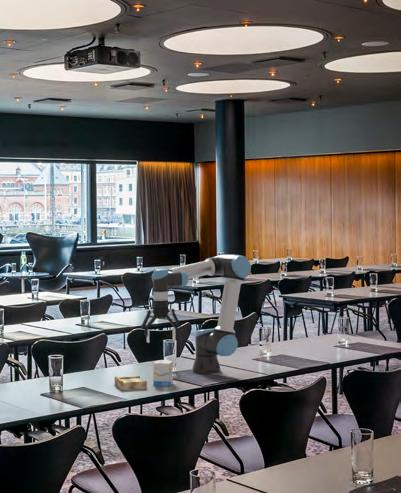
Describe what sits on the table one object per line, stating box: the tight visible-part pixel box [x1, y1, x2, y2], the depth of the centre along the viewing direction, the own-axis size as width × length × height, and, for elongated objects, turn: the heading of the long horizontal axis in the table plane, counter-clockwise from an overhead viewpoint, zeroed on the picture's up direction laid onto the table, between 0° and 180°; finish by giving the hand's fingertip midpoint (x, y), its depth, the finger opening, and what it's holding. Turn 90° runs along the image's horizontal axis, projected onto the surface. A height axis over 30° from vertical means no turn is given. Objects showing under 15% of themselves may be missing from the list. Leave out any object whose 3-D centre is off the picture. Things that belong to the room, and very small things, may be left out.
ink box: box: [152, 359, 174, 387], centre depth 454 cm, size 9×8×12 cm
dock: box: [114, 375, 148, 392], centre depth 449 cm, size 13×14×4 cm
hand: (161, 341), depth 454 cm, fingers open, 13 cm apart
